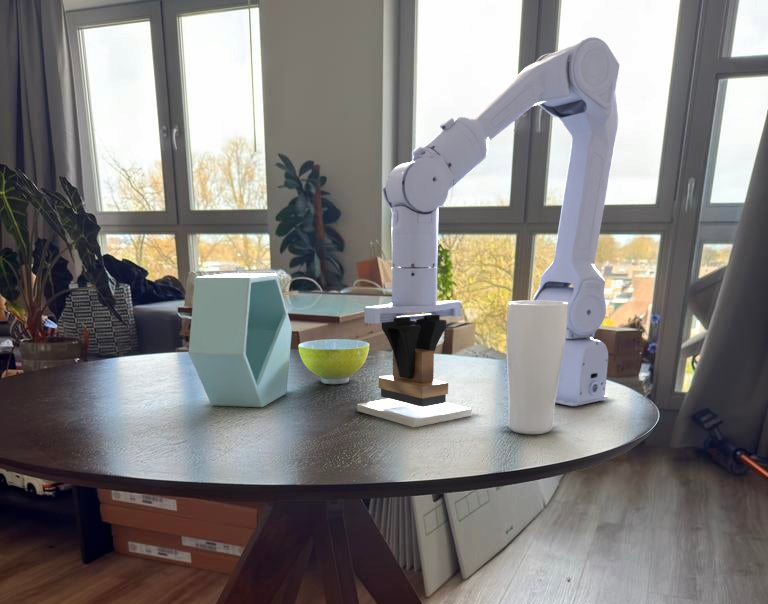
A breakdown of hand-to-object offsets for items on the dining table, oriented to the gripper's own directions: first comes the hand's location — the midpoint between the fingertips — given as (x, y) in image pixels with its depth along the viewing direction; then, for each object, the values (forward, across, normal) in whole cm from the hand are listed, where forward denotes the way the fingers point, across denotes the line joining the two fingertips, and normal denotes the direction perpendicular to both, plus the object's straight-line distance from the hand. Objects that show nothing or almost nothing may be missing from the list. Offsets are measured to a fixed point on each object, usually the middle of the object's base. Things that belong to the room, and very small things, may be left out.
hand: (413, 376), depth 95 cm
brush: (+3, 0, 0) cm, 3 cm away
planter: (+5, +13, -22) cm, 26 cm away
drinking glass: (+5, -5, +16) cm, 18 cm away
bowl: (+5, -5, -26) cm, 27 cm away
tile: (+5, 0, 0) cm, 5 cm away
